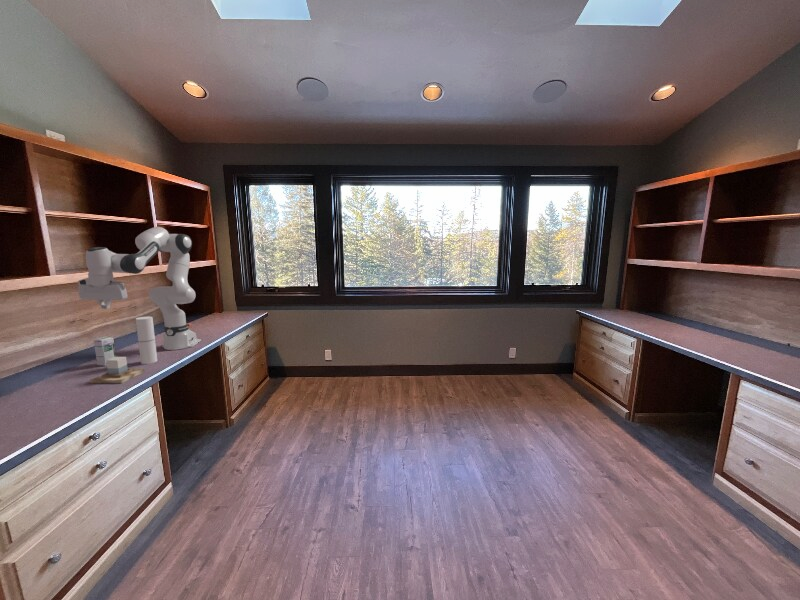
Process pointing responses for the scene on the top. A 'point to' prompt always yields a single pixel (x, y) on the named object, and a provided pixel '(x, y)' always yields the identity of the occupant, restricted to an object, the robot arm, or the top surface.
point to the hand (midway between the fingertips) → (105, 308)
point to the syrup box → (104, 350)
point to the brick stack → (117, 365)
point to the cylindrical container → (146, 340)
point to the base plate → (117, 377)
